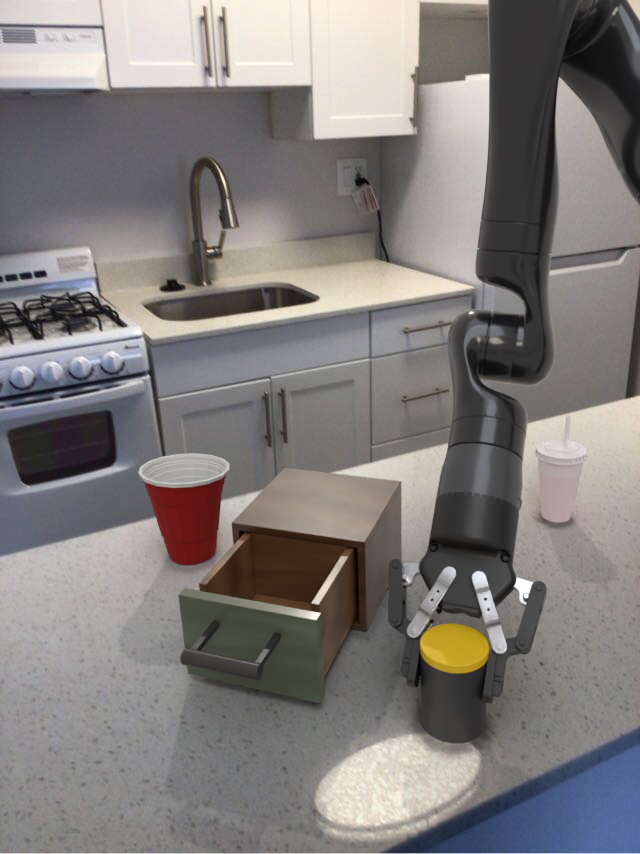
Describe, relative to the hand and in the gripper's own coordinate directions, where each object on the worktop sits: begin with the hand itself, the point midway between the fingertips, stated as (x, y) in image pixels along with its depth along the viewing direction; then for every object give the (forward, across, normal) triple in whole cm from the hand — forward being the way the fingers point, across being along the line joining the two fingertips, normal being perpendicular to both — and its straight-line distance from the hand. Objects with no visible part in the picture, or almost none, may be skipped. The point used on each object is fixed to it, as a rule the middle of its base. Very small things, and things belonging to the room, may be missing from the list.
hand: (449, 693), depth 63 cm
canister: (+2, 0, +4) cm, 5 cm away
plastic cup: (-11, -36, +18) cm, 42 cm away
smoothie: (-27, +6, +33) cm, 43 cm away
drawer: (0, -18, +5) cm, 19 cm away
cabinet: (-10, -18, +16) cm, 26 cm away
